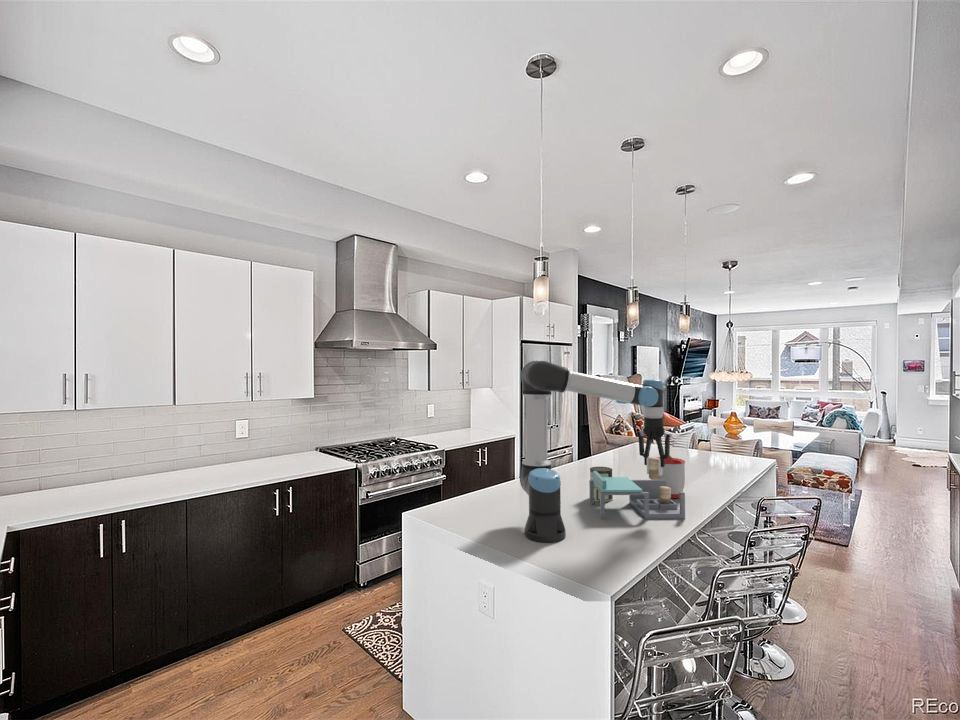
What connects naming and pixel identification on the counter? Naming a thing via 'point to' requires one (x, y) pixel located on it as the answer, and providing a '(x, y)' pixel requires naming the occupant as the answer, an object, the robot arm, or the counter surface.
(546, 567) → the counter surface
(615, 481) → the lid
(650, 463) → the tan rounded cylinder
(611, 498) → the coffee can
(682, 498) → the frame
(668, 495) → the tan wooden cylinder
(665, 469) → the citrus juicer
